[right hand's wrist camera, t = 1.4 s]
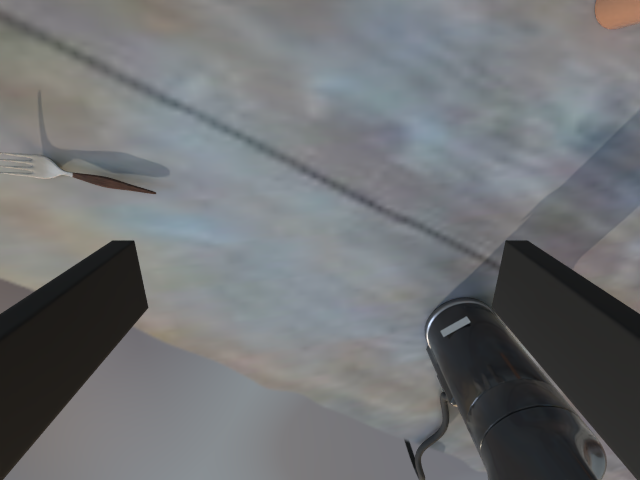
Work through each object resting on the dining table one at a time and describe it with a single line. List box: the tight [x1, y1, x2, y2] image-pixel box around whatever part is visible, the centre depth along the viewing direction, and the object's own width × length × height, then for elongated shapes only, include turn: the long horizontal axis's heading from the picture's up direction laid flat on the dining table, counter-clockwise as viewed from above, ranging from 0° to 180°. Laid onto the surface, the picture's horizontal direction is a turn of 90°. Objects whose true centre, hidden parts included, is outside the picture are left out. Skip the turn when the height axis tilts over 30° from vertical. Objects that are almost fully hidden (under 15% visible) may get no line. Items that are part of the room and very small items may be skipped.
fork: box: [0, 153, 156, 194], centre depth 38 cm, size 3×16×2 cm, turn 77°
